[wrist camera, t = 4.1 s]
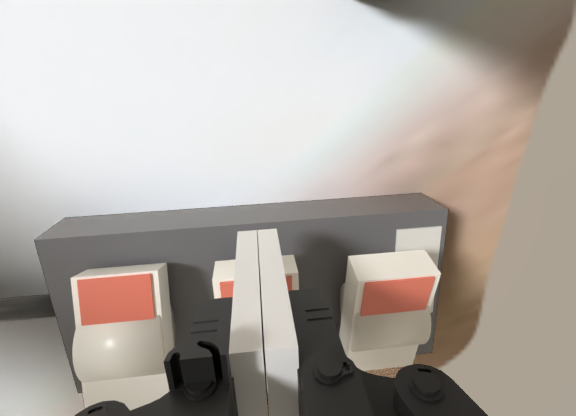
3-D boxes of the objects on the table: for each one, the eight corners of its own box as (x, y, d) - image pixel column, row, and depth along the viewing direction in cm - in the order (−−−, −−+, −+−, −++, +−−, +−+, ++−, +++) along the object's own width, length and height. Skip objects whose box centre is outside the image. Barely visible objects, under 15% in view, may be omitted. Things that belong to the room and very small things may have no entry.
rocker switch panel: (-23, 366, 21) (-67, 412, 18) (-77, 227, 18) (-140, 254, 15) (410, 321, 24) (433, 354, 21) (421, 192, 21) (450, 210, 18)
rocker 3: (334, 332, 20) (348, 386, 18) (343, 243, 17) (363, 293, 14) (394, 326, 21) (417, 377, 18) (416, 237, 17) (449, 285, 15)
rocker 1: (109, 393, 18) (78, 438, 15) (96, 264, 18) (61, 282, 14) (181, 385, 18) (167, 426, 15) (170, 258, 18) (153, 274, 15)
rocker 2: (229, 358, 19) (226, 410, 16) (216, 251, 17) (210, 290, 14) (294, 351, 20) (303, 401, 17) (291, 245, 17) (301, 282, 14)
